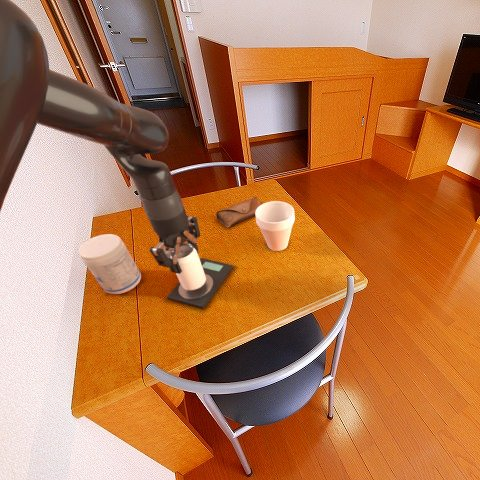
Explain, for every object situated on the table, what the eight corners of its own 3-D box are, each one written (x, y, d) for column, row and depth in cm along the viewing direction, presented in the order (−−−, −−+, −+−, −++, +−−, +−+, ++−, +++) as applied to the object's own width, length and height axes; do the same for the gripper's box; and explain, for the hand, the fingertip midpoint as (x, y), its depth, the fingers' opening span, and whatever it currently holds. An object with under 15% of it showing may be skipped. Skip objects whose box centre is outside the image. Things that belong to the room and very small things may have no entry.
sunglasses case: (228, 228, 99) (220, 211, 97) (221, 228, 105) (214, 212, 103) (268, 209, 109) (262, 194, 107) (261, 211, 115) (254, 195, 113)
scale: (203, 309, 74) (201, 305, 73) (168, 299, 76) (166, 296, 75) (233, 267, 85) (232, 264, 84) (201, 260, 87) (200, 256, 86)
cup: (301, 238, 97) (301, 206, 88) (285, 260, 88) (282, 227, 80) (271, 229, 100) (267, 197, 92) (252, 250, 92) (246, 217, 83)
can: (180, 277, 78) (166, 245, 70) (204, 270, 80) (193, 239, 72) (182, 294, 73) (167, 262, 65) (208, 286, 75) (196, 255, 68)
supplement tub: (97, 286, 78) (68, 248, 69) (129, 266, 85) (107, 228, 75) (117, 301, 75) (89, 263, 65) (149, 279, 81) (128, 241, 71)
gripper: (156, 231, 55) (181, 286, 66) (199, 195, 65) (214, 247, 76) (125, 224, 56) (154, 279, 67) (172, 190, 67) (191, 242, 78)
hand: (186, 262), depth 71 cm, fingers closed on can, 6 cm apart
